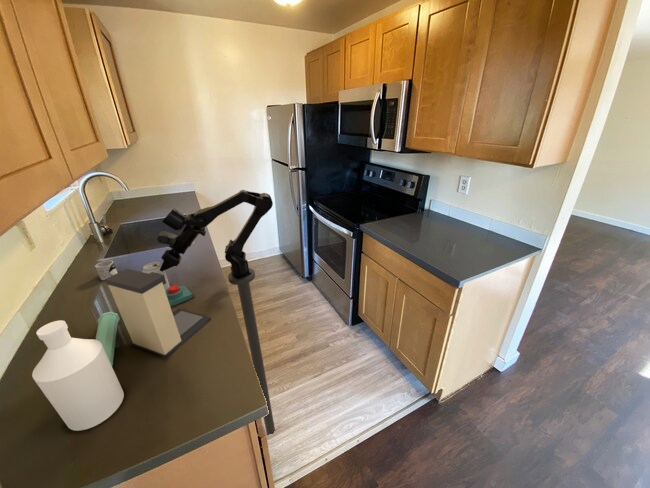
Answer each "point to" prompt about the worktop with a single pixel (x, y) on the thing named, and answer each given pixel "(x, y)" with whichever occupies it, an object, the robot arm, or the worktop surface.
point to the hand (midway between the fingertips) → (164, 265)
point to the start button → (173, 289)
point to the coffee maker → (152, 312)
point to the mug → (106, 269)
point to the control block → (179, 296)
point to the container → (108, 333)
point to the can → (156, 271)
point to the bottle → (77, 378)
